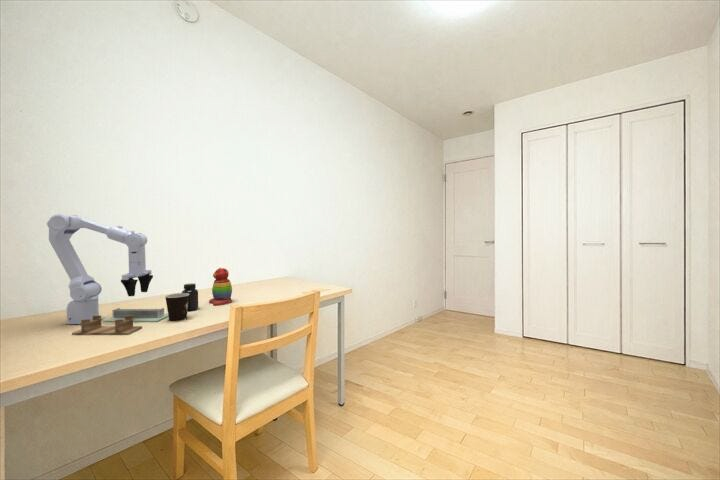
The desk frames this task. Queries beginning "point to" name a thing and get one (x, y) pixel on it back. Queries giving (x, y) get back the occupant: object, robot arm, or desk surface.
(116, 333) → the stand
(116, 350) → the desk surface
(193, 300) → the supplement bottle
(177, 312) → the coffee mug
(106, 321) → the mat
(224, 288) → the stacking bear
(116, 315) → the rail
